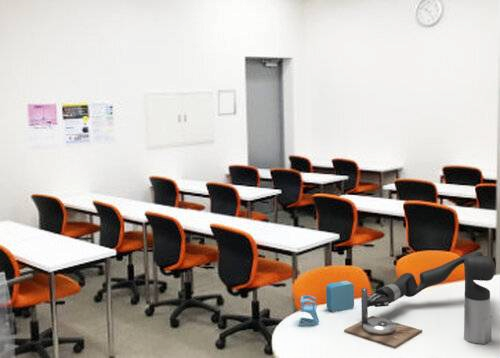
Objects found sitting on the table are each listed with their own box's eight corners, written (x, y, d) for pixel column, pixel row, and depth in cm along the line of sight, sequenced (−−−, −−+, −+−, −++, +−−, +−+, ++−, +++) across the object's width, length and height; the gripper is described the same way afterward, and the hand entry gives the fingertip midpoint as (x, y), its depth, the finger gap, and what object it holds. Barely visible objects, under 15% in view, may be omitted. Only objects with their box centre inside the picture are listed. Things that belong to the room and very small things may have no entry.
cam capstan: (406, 326, 239) (405, 288, 237) (398, 338, 228) (398, 299, 226) (366, 320, 247) (365, 284, 245) (357, 331, 236) (356, 293, 233)
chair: (318, 327, 246) (317, 299, 244) (298, 326, 247) (297, 299, 246) (319, 320, 253) (319, 293, 251) (300, 319, 255) (299, 293, 253)
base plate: (422, 332, 236) (422, 329, 236) (395, 348, 222) (395, 345, 222) (372, 317, 253) (371, 315, 253) (344, 332, 239) (344, 329, 239)
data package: (349, 305, 269) (348, 280, 268) (354, 308, 265) (354, 282, 264) (326, 309, 265) (325, 284, 263) (331, 312, 261) (330, 287, 259)
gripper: (401, 306, 248) (376, 318, 237) (375, 299, 258) (350, 310, 247) (400, 289, 247) (376, 300, 236) (374, 282, 257) (350, 293, 246)
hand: (363, 305), depth 241 cm, fingers closed
